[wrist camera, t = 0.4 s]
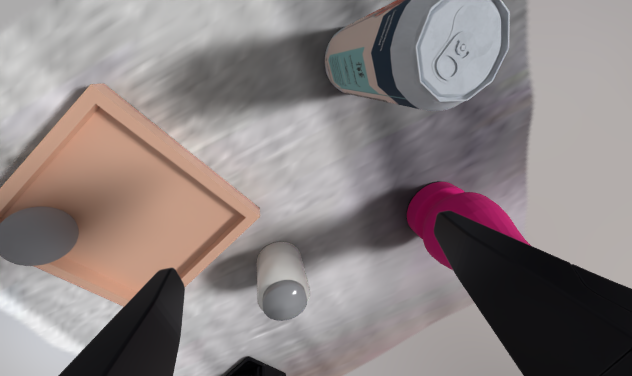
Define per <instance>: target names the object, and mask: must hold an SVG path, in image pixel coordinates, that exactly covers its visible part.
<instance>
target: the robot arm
mask: <svg viewBox="0 0 632 376" xmlns="http://www.w3.org/2000/svg"><path fill="white" fill-rule="evenodd" d="M434 235H435V237H436V239H437V241H438V243H439V245H440V247H441V248H442V250H443V252H444V254H445V256H446V258H447V260H448V262H449V263H450V265H451V267H452V269H453V271H454V272H455V274H456V276H457V277H458V279H459V280H460V282H461V283H462V285H463V286H464V288H465V289H466V291H467V292H468V294H469V295H470V297H471V298H472V300H473V301H474V303H475V304H476V305H477V307H478V308H479V310H480V311H481V313H482V314H483V316H484V317H485V319H486V320H487V322H488V323H489V325H490V326H491V328H492V329H493V331H494V332H495V334H496V335H497V337H498V338H499V340H500V341H501V343H502V344H503V346H504V347H505V349H506V350H507V352H508V353H509V355H510V356H511V357H512V359H513V360H514V362H515V363H516V365H517V366H518V368H519V369H520V371H521V372H522V374H523V375H524V376H632V289H631V288H628V287H626V286H623V285H621V284H618V283H616V282H613V281H611V280H609V279H606V278H604V277H601V276H599V275H597V274H594V273H592V272H589V271H587V270H585V269H583V268H580V267H578V266H576V265H574V264H572V265H571V264H570V263H569V262H567V261H564V260H562V259H560V258H558V257H555V256H553V255H551V254H548V253H546V252H544V251H541V250H539V249H537V248H534V247H532V246H530V245H528V244H526V243H523V242H521V241H519V240H516V239H514V238H512V237H510V236H507V235H505V234H503V233H500V232H498V231H496V230H494V229H491V228H489V227H487V226H484V225H482V224H480V223H478V222H475V221H473V220H471V219H469V218H466V217H464V216H462V215H459V214H457V213H455V212H453V211H443V212H439V213H438V214H437V216H436V221H435V225H434ZM184 292H185V287H184V283H183V281H182V280H181V278H180V276H179V275H178V273H177V271H176V270H175V269H174V268H166V269H161V270H159V271H158V272H157V273H156V274H155V275H154V276H153V277H152V278H151V279H150V280H149V281H148V282H147V283H146V284H145V285H144V286H143V287H142V288H141V289H140V290H139V291H138V293H137V294H136V295H135V296H134V297H133V298H132V299H131V300H130V301H129V302H128V303H127V304H126V305H125V306H124V307H123V308H122V309H121V310H120V311H119V312H118V314H117V315H116V316H115V317H114V318H113V319H112V320H111V321H110V322H109V323H108V324H107V325H106V326H105V327H104V328H103V329H102V330H101V331H100V332H99V334H98V335H97V336H96V337H95V338H94V339H93V340H92V341H91V342H90V343H89V344H88V345H87V346H86V347H85V348H84V349H83V350H82V351H81V352H80V354H79V355H78V356H77V357H76V358H75V359H74V360H73V361H72V362H71V363H70V364H69V365H68V366H67V367H66V368H65V369H64V370H63V371H62V372H61V374H60V375H59V376H173V373H174V368H175V363H176V358H177V353H178V348H179V342H180V336H181V326H182V315H183V303H184ZM226 376H286V374H285V373H284V372H281V371H279V370H277V369H275V368H273V367H271V366H268V365H266V364H264V363H262V362H260V361H258V360H255V359H253V358H251V357H249V358H246V359H245V360H244V361H243V362H241V363H240V364H239V365H238V366H237V367H236V368H234V369H233V370H232V371H231V372H230V373H229V374H227V375H226Z"/></svg>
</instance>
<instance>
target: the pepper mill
mask: <svg viewBox="0 0 632 376" xmlns="http://www.w3.org/2000/svg"><path fill="white" fill-rule="evenodd" d="M443 211H453V212H455V213H457V214H459V215H462V216H464V217H466V218H469V219H471V220H473V221H475V222H478V223H480V224H482V225H484V226H487V227H489V228H491V229H494V230H496V231H498V232H500V233H503V234H505V235H507V236H510V237H512V238H514V239H516V240H519V241H521V242H523V243H526V244H528V245H530V244H529V243H528V242H527V241H526V240H525V239H524V238H523V236H522V235H521V234H520V232H519V231H518V230H517V228H516V226H515V225H514V223H513V222H512V220H511V219H510V217H509V216H508V215H507V214H506V213H505V212H504V210H503V209H502V208H501V207H500V206H499V205H497V204H496V203H495V202H493V201H492V200H490V199H489V198H487V197H486V196H484V195H481V194H478V193H473V192H464V191H463V190H462V189H460V188H458V187H456V186H454V185H452V184H450V183H448V182H436V183H431V184H429V185H427V186H425V187H424V188H422V189H421V190H420V191H419V192H417V194H416V195H415V196H414V197H413V199H412V200H411V202H410V204H409V206H408V210H407V221H408V224H409V226H410V228H411V229H412V230H413V231H414V232H415V233H416V234H417V235H418V236H419V237H420V238H422V239H423V241H424V245H425V247H426V249H427V251H428V252H429V254H430V255H431V256H432V257H434V258H435V259H436V260H437V261H438V262H440V263H441V264H443V265H444V266H446V267H448V268H450V269H452V267H451V265H450V263H449V262H448V260H447V258H446V256H445V254H444V252H443V250H442V248H441V247H440V245H439V243H438V241H437V239H436V237H435V235H434V225H435V221H436V216H437V214H438V213H439V212H443ZM530 246H531V245H530ZM571 265H572V264H571ZM576 266H577V265H576ZM578 267H579V266H578ZM452 270H453V269H452Z"/></svg>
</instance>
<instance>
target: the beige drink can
mask: <svg viewBox="0 0 632 376" xmlns="http://www.w3.org/2000/svg"><path fill="white" fill-rule="evenodd" d="M509 27H510V11H509V10H508V8H507V7H506V6H505V4H504V3H503V1H502V0H397V1H395V2H393V3H391V4H389V5H387V6H385V7H383V8H381V9H379V10H377V11H375V12H373V13H371V14H369V15H367V16H365V17H363V18H361V19H359V20H358V21H356V22H354V23H352V24H350V25H348V26H346V27H344V28H342V29H340V30H339V31H338V32H337V33H336V34H335V35H334V36H333V37H332V39H331V40H330V42H329V44H328V47H327V50H326V53H325V68H326V73H327V76H328V78H329V80H330V82H331V83H332V84H333V85H334V86H335V87H336V88H337V89H338V90H340V91H341V92H343V93H346V94H351V95H356V96H360V97H365V98H370V99H375V100H379V101H384V102H389V103H393V104H398V105H403V106H408V107H412V108H417V109H422V110H427V111H442V110H447V109H450V108H453V107H455V106H457V105H458V104H460V103H462V102H463V101H468V100H469V99H470V98H471V97H473V96H474V95H475V94H477V93H478V92H479V91H481V90H482V89H483V88H485V87H486V86H487V85H488V84H490V83H491V82H492V81H493V80H494V78H495V76H496V74H497V72H498V70H499V68H500V66H501V64H502V62H503V60H504V58H505V56H506V54H507V52H508V50H509Z"/></svg>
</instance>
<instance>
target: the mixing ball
mask: <svg viewBox="0 0 632 376" xmlns="http://www.w3.org/2000/svg"><path fill="white" fill-rule="evenodd" d="M78 235H79V229H78V225H77V223H76V221H75V220H74V219H73V217H71V216H70V215H69V214H68V213H66V212H64V211H62V210H60V209H57V208H52V207H43V206H40V207H31V208H26V209H23V210H20V211H17V212H15V213H13V214H11V215H10V216H8V217H7V218H5V219H4V220H3V221H2V222H1V223H0V256H1V257H3V258H4V259H6V260H7V261H9V262H12V263H14V264H18V265H24V266H37V265H43V264H47V263H51V262H53V261H56V260H58V259H60V258H61V257H63V256H65V255H66V254H67V253H68V252H69V251H70V250H71V249H72V248H73V247H74V245H75V244H76V242H77V239H78Z"/></svg>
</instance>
